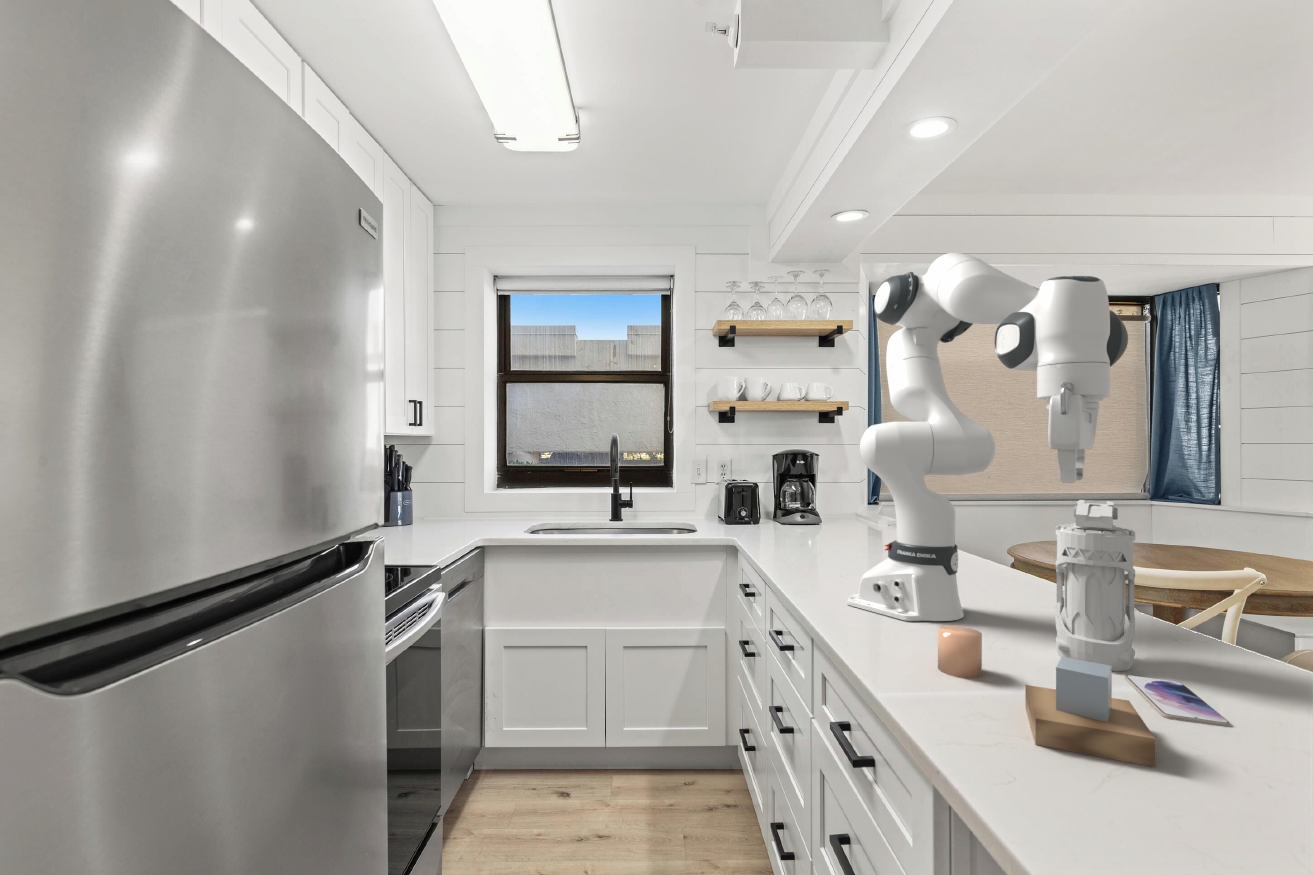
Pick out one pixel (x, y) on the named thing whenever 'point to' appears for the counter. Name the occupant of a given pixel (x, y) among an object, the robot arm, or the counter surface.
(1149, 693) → the smartphone
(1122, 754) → the base slab
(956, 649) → the peach rounded cylinder
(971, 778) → the counter surface
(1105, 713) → the cube
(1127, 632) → the lantern
